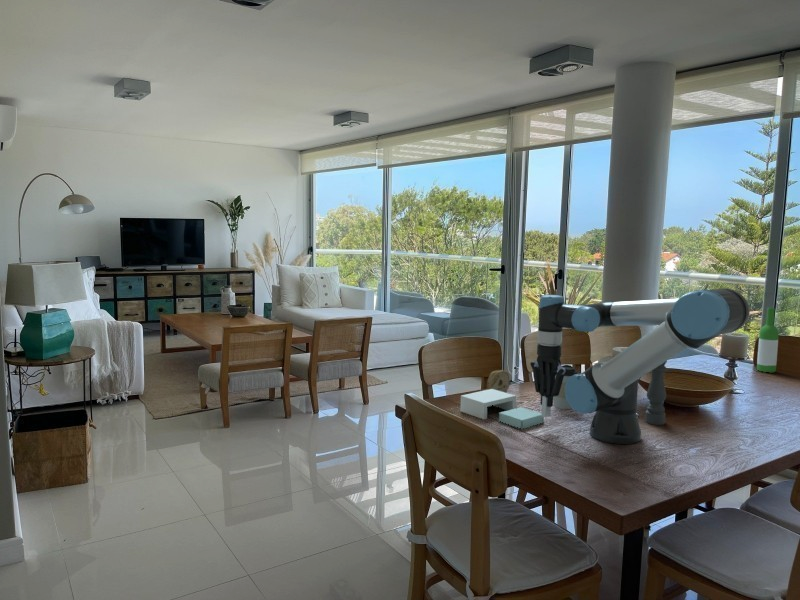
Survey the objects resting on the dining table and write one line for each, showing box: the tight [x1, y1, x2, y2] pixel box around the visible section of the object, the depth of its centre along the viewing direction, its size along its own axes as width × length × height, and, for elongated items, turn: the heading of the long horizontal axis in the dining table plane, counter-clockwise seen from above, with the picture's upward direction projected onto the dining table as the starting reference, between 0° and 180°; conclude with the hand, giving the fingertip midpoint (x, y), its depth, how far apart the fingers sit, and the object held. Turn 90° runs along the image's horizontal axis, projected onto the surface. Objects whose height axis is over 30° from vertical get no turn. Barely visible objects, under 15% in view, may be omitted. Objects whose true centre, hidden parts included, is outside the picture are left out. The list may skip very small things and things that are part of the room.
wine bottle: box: [756, 307, 780, 374], centre depth 280 cm, size 8×8×30 cm
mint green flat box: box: [498, 406, 545, 430], centre depth 201 cm, size 10×11×3 cm
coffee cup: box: [553, 364, 578, 410], centre depth 219 cm, size 9×9×15 cm
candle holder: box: [644, 360, 668, 426], centre depth 202 cm, size 6×6×25 cm
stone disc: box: [486, 369, 511, 393], centre depth 234 cm, size 10×4×10 cm, turn 125°
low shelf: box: [460, 389, 517, 420], centre depth 213 cm, size 12×16×6 cm
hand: (546, 415), depth 193 cm, fingers closed
